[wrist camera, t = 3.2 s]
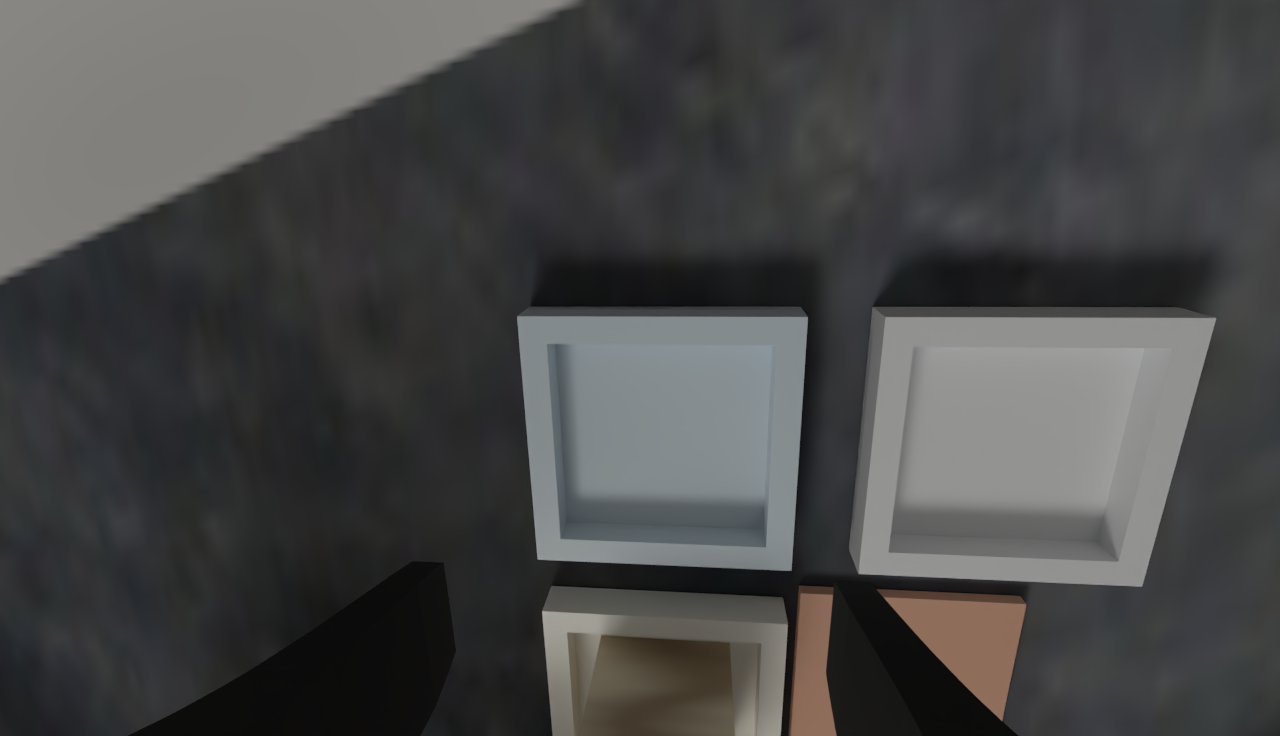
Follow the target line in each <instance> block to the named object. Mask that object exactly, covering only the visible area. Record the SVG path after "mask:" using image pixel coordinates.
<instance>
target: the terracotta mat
mask: <svg viewBox="0 0 1280 736" xmlns="http://www.w3.org/2000/svg"><path fill="white" fill-rule="evenodd" d="M833 590H834V587H821V586H799V592H798V606H797V620H796V634H795V649H794V663H793V677H792V691H791V705H790V720H789V734H788V736H837V735H836V730H835V725H834V719H833V713H832V708H831V702H830V696H829V690H828V683H827V677H826V666H827V655H828V645H829V634H830V623H831V612H832V601H833ZM877 591H878V592H879V593H880V594H881V595H882V596H883V597H884V598H885V600H886V601H887V602H888V603H889V604H890V605H891V606H892V607H893V609H894V610H895V611H896V612H897V613H898V614H899V615H900V617H901V618H902V619H903V620H904V621H905V622H906V623H907V624H908V626H909V627H910V628H911V629H912V630H913V631H914V632H915V633H916V634H917V636H918V637H919V638H920V639H921V640H922V641H923V642H924V643H925V644H926V645H927V647H928V648H929V649H930V650H931V651H932V652H933V653H934V654H935V655H936V656H937V657H938V658H939V659H940V660H941V661H942V662H943V663H944V664H945V666H946V667H947V668H948V669H949V670H950V671H951V672H952V673H953V674H954V675H955V676H956V677H957V678H958V679H959V680H960V681H961V682H962V683H963V684H964V685H965V686H966V687H967V688H968V689H969V690H970V691H971V692H972V693H973V694H974V695H975V696H976V697H977V698H978V699H979V700H980V701H981V702H982V703H983V704H984V705H985V706H987V707H988V708H989V709H990V710H991V711H992V712H993V713H994V714H995V715H996V716H997V717H998V718H999V719H1000V720H1001V721H1002V719H1003V714H1004V709H1005V704H1006V700H1007V695H1008V690H1009V685H1010V681H1011V676H1012V671H1013V666H1014V661H1015V657H1016V652H1017V647H1018V642H1019V637H1020V633H1021V628H1022V623H1023V618H1024V614H1025V609H1026V603H1025V602H1024V600H1023V599H1022V598H1021V596H1013V595H991V594H970V593H949V592H927V591H906V590H885V589H877Z"/></svg>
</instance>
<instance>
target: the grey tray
mask: <svg viewBox="0 0 1280 736" xmlns="http://www.w3.org/2000/svg"><path fill="white" fill-rule="evenodd" d="M1215 321H1216V318H1215V317H1211V316H1208V315H1204V314H1201V313H1197V312H1194V311H1190V310H1187V309H1183V308H1179V307H873V308H872V318H871V328H870V338H869V349H868V359H867V369H866V379H865V389H864V400H863V410H862V420H861V430H860V440H859V450H858V461H857V471H856V481H855V491H854V501H853V512H852V522H851V532H850V542H849V551H850V553H851V556H852V558H853V561H854V564H855V566H856V569H857V571H858V574H871V575H893V576H916V577H938V578H961V579H983V580H1006V581H1028V582H1050V583H1073V584H1095V585H1118V586H1140V587H1142V585H1143V581H1144V578H1145V574H1146V571H1147V567H1148V563H1149V560H1150V556H1151V552H1152V549H1153V545H1154V542H1155V538H1156V534H1157V531H1158V527H1159V524H1160V520H1161V516H1162V513H1163V509H1164V505H1165V502H1166V498H1167V495H1168V491H1169V487H1170V484H1171V480H1172V476H1173V473H1174V469H1175V466H1176V462H1177V458H1178V455H1179V451H1180V448H1181V444H1182V440H1183V437H1184V433H1185V429H1186V426H1187V422H1188V419H1189V415H1190V411H1191V408H1192V404H1193V400H1194V397H1195V393H1196V390H1197V386H1198V382H1199V379H1200V375H1201V372H1202V368H1203V364H1204V361H1205V357H1206V353H1207V350H1208V346H1209V343H1210V339H1211V335H1212V332H1213V328H1214V324H1215Z"/></svg>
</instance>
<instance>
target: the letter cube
mask: <svg viewBox="0 0 1280 736" xmlns="http://www.w3.org/2000/svg"><path fill="white" fill-rule="evenodd" d="M579 736H735V729H734V711H733V692H732V674H731V655H730V643H724V642H707V641H689V640H672V639H654V638H637V637H619V636H602V635H601V638H600V643H599V647H598V652H597V656H596V661H595V665H594V670H593V674H592V679H591V683H590V688H589V692H588V697H587V701H586V706H585V710H584V715H583V719H582V724H581V728H580V732H579Z"/></svg>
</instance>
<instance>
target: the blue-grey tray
mask: <svg viewBox="0 0 1280 736" xmlns="http://www.w3.org/2000/svg"><path fill="white" fill-rule="evenodd" d="M517 322H518V334H519V346H520V358H521V370H522V381H523V393H524V405H525V417H526V428H527V440H528V452H529V464H530V476H531V487H532V499H533V511H534V523H535V534H536V546H537V558H538V560H557V561H579V562H602V563H624V564H647V565H669V566H691V567H714V568H736V569H759V570H781V571H792V555H793V540H794V525H795V510H796V494H797V479H798V464H799V448H800V433H801V418H802V402H803V387H804V372H805V357H806V341H807V326H808V316H807V315H806V313H805V312H804V311H803V309H802V308H801V307H528V308H527V309H526V310H525V311H523V312H522V313H521V314H519V315H518V316H517Z"/></svg>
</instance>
